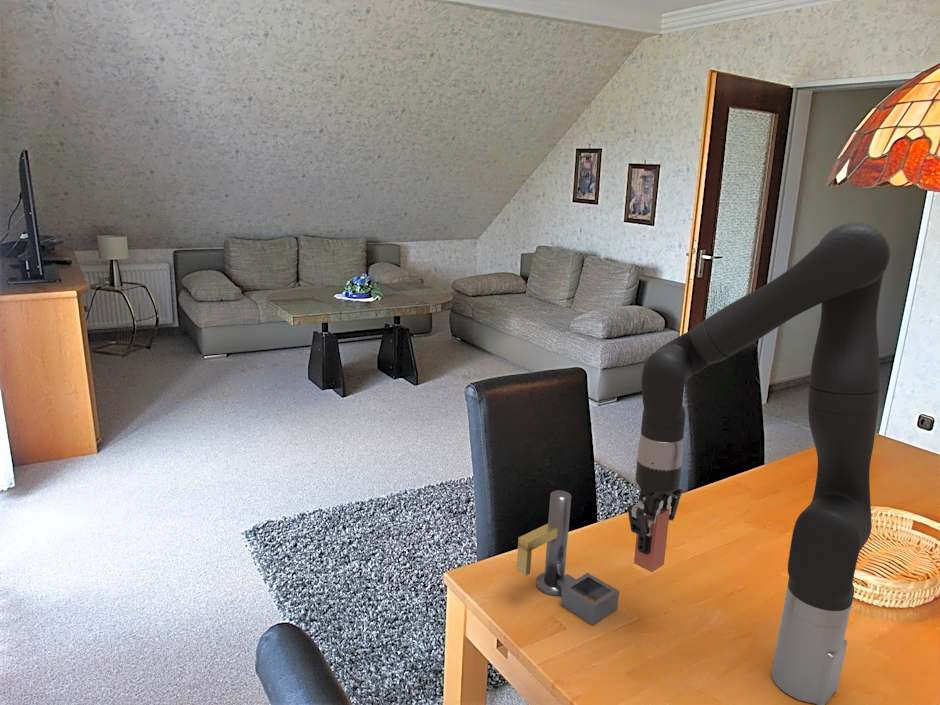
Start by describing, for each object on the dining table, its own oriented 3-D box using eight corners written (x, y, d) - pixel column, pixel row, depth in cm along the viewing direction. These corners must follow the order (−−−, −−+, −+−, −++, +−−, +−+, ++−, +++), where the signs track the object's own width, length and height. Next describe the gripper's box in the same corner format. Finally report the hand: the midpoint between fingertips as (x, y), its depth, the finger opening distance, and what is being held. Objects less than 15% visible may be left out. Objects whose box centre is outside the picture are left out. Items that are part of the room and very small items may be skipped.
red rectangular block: (663, 564, 122) (669, 509, 119) (652, 572, 119) (657, 516, 116) (645, 555, 124) (651, 501, 121) (633, 563, 122) (639, 508, 119)
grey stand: (617, 609, 129) (627, 515, 124) (570, 640, 120) (579, 540, 115) (552, 570, 140) (559, 483, 135) (506, 596, 131) (511, 503, 126)
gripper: (655, 478, 109) (646, 571, 114) (700, 455, 118) (690, 543, 123) (617, 463, 114) (609, 553, 119) (663, 442, 124) (654, 527, 128)
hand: (650, 547), depth 121 cm, fingers closed on red rectangular block, 3 cm apart
